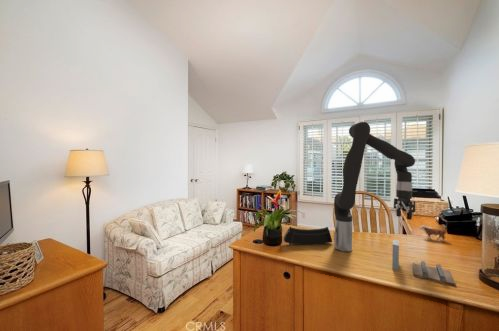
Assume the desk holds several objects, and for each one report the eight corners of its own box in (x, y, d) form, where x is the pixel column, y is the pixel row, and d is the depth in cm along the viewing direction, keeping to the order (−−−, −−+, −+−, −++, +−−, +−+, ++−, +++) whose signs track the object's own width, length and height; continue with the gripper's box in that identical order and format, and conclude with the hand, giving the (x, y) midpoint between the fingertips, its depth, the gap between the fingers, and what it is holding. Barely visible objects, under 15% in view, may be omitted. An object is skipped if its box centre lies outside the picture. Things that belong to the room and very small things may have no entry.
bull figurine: (419, 235, 152) (419, 224, 152) (445, 240, 144) (445, 227, 144) (419, 237, 149) (420, 225, 148) (446, 242, 141) (446, 229, 141)
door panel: (392, 268, 106) (392, 244, 106) (392, 262, 113) (393, 239, 113) (398, 270, 105) (398, 245, 105) (398, 263, 112) (399, 240, 111)
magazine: (334, 228, 141) (290, 215, 138) (336, 230, 137) (291, 217, 135) (326, 253, 141) (282, 241, 138) (328, 256, 138) (283, 243, 135)
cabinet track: (413, 276, 100) (413, 269, 100) (412, 264, 110) (412, 258, 110) (455, 286, 92) (455, 279, 92) (449, 272, 103) (449, 266, 102)
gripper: (389, 188, 134) (389, 215, 133) (406, 190, 120) (406, 220, 119) (401, 189, 134) (401, 215, 133) (420, 190, 120) (419, 220, 119)
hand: (403, 217), depth 126 cm, fingers open, 8 cm apart
